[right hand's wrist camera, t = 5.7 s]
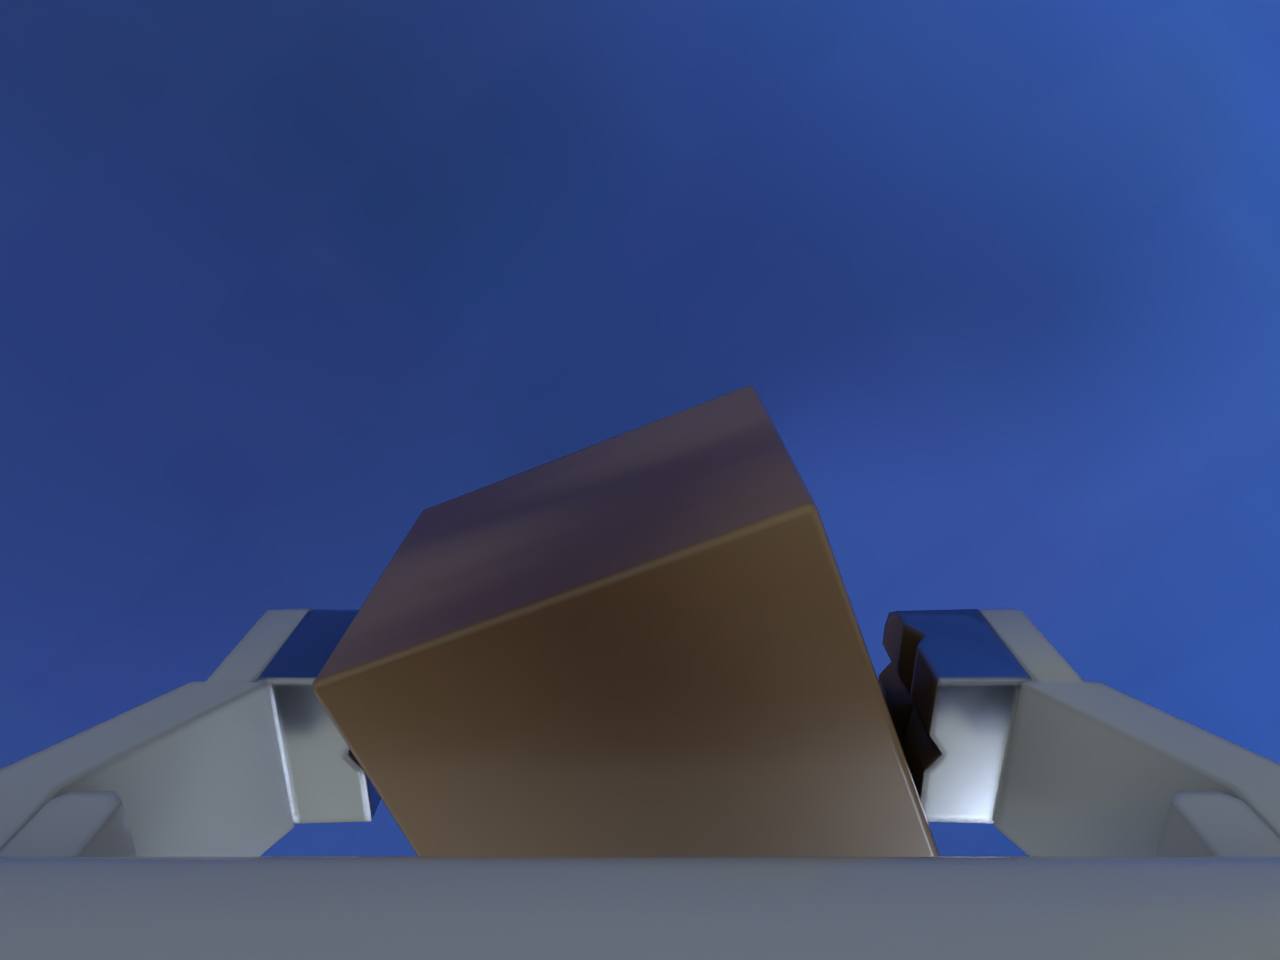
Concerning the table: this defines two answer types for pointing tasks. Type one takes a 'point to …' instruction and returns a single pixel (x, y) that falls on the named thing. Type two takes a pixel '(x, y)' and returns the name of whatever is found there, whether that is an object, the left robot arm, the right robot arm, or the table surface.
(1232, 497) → the table surface
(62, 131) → the table surface
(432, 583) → the brown block
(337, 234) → the table surface
